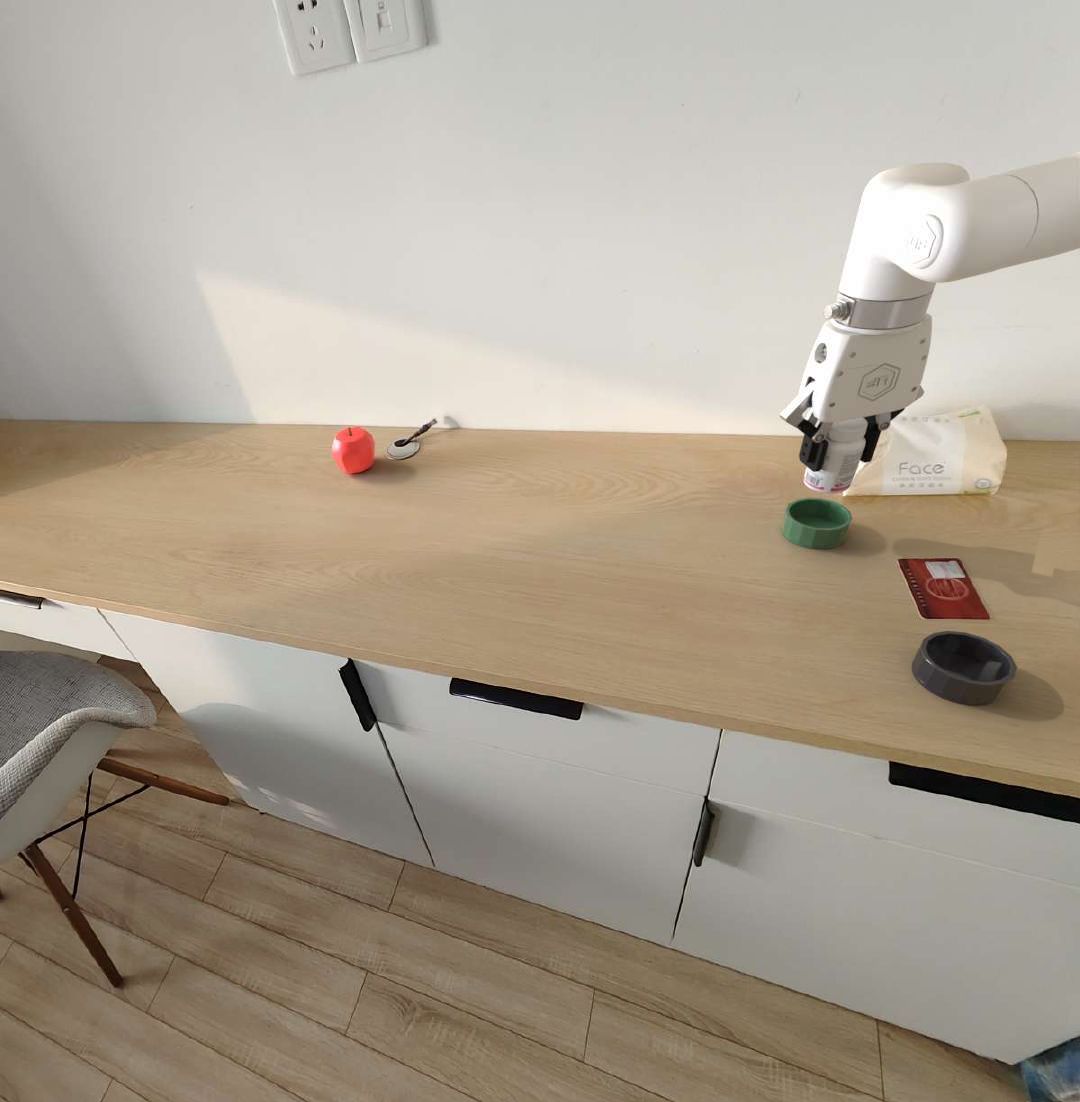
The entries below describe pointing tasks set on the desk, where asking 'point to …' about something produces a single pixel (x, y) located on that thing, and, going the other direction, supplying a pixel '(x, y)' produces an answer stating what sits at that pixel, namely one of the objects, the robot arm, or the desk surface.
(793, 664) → the desk surface
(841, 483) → the pill bottle
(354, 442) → the apple
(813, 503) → the green round container
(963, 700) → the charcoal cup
